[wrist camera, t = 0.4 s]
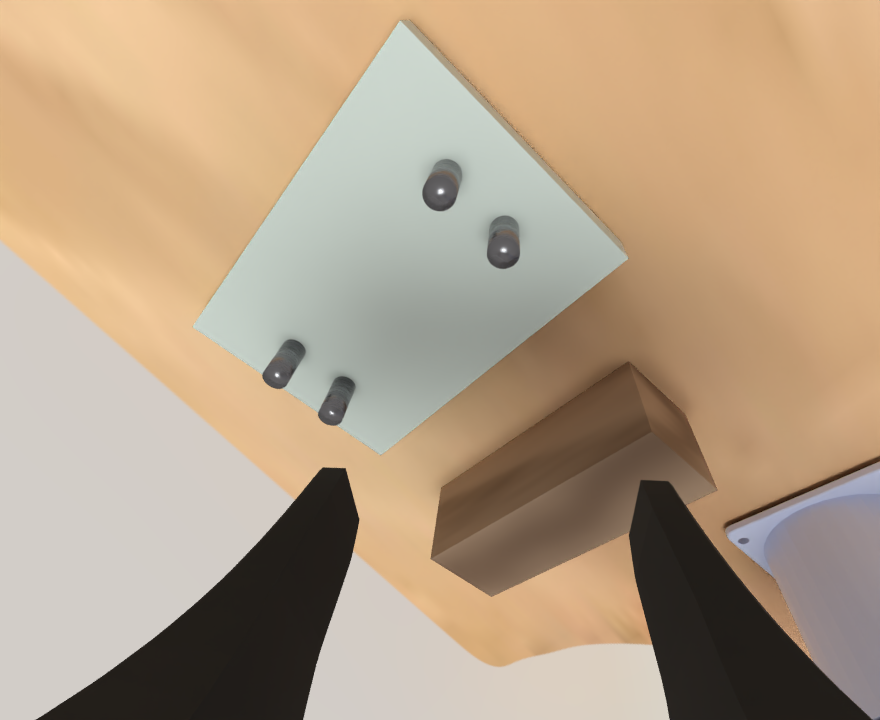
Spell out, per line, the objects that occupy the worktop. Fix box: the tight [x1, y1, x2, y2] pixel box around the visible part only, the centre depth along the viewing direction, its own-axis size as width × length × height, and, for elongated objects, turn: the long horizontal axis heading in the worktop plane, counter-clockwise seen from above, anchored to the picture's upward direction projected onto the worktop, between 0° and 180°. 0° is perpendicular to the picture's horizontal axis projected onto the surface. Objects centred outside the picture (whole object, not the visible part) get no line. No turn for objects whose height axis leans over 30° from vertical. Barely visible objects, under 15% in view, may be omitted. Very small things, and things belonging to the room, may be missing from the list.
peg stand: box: [193, 20, 629, 455], centre depth 18 cm, size 10×14×4 cm
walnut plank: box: [431, 362, 717, 597], centre depth 23 cm, size 4×12×4 cm, turn 139°
